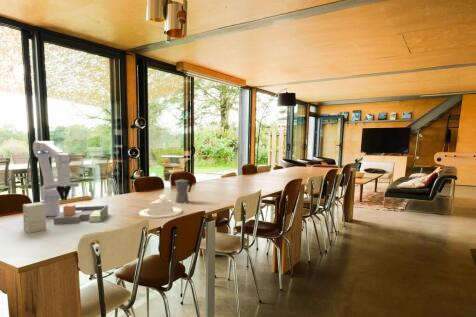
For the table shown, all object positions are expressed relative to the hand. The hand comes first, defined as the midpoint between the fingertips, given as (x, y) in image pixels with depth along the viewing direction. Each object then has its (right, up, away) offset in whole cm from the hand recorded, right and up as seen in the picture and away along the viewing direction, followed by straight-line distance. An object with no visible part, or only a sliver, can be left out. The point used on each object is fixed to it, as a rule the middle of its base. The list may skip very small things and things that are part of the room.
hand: (64, 200), depth 156 cm
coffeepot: (+56, -8, +47) cm, 74 cm away
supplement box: (-2, -12, -20) cm, 23 cm away
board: (+9, -10, +1) cm, 14 cm away
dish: (+49, -10, +15) cm, 52 cm away
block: (+3, -8, -1) cm, 8 cm away
